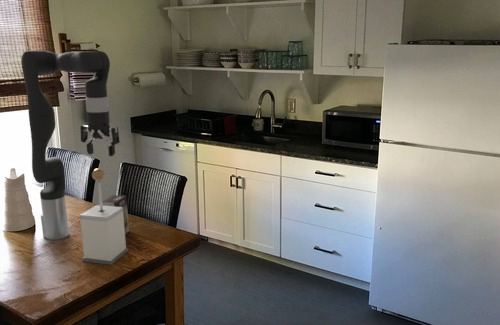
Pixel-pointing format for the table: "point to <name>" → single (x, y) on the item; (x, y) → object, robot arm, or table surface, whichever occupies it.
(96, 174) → the plunger
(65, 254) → the table surface
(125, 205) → the coffee box
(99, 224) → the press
